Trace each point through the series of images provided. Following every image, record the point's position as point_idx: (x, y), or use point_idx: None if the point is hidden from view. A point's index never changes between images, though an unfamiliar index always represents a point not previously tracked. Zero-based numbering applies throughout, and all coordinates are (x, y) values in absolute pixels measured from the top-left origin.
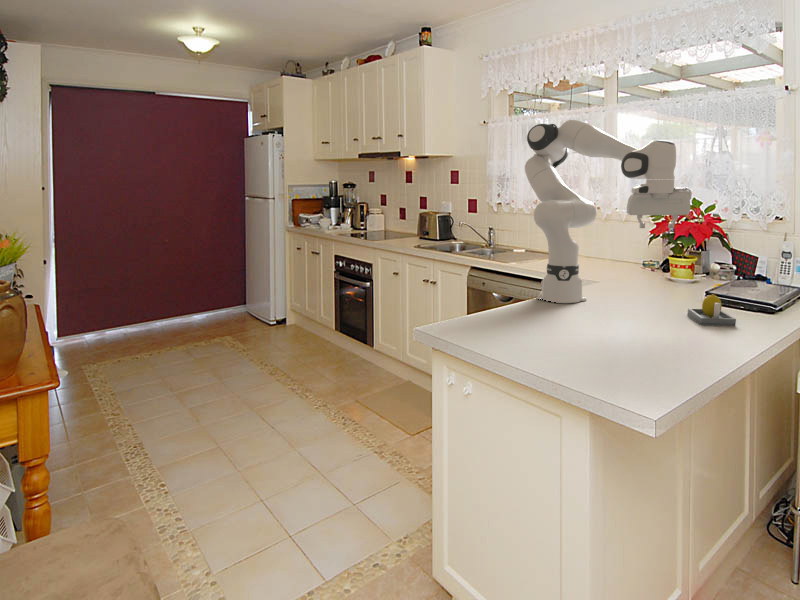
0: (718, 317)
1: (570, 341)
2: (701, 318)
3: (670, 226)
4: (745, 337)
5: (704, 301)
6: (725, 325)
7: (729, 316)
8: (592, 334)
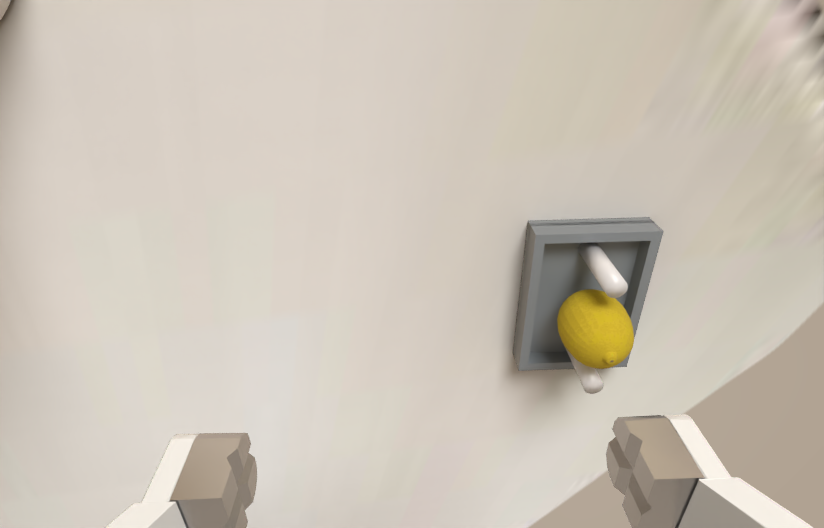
0: None
1: None
2: (518, 370)
3: (627, 486)
4: (579, 436)
5: (569, 344)
6: None
7: None
8: None
